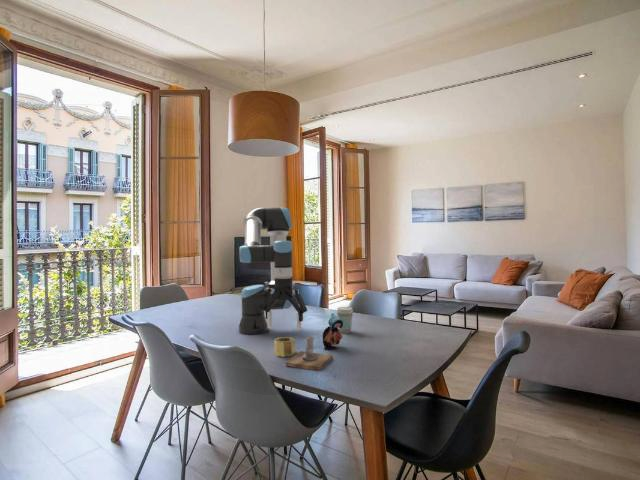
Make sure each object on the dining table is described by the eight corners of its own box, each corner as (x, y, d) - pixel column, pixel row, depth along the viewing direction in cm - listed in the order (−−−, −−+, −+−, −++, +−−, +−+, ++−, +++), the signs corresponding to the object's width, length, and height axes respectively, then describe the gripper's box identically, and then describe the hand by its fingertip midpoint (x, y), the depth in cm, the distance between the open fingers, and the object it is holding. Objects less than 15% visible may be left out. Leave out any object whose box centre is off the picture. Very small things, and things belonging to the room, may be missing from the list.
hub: (271, 355, 155) (271, 341, 154) (280, 349, 162) (280, 336, 162) (289, 357, 152) (288, 343, 152) (297, 351, 159) (296, 337, 159)
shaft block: (285, 366, 142) (285, 341, 142) (300, 354, 155) (300, 332, 155) (320, 370, 137) (319, 345, 137) (332, 358, 150) (332, 335, 150)
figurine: (332, 352, 158) (331, 317, 157) (319, 349, 162) (319, 314, 162) (346, 346, 165) (346, 313, 165) (334, 343, 170) (334, 311, 170)
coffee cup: (352, 334, 185) (352, 310, 185) (335, 333, 187) (335, 309, 186) (354, 329, 193) (354, 306, 193) (338, 329, 195) (337, 306, 195)
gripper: (252, 277, 157) (253, 327, 157) (307, 279, 148) (308, 332, 148) (261, 275, 164) (262, 323, 164) (314, 277, 155) (315, 328, 155)
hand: (284, 328), depth 156 cm, fingers open, 13 cm apart
